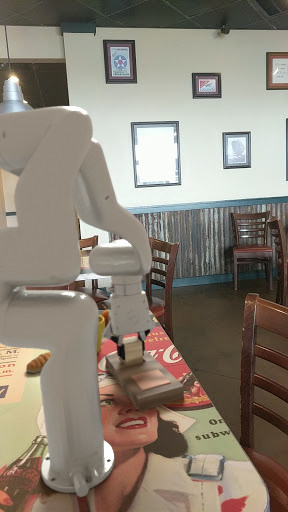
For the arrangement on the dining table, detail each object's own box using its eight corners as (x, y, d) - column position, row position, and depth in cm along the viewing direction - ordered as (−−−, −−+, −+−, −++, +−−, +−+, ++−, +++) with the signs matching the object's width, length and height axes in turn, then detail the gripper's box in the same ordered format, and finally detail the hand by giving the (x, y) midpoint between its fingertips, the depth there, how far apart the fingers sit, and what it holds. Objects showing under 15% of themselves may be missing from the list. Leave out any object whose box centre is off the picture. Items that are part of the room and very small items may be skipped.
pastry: (33, 378, 99) (31, 364, 99) (22, 370, 104) (20, 357, 104) (64, 365, 106) (63, 352, 105) (52, 358, 111) (51, 346, 110)
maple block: (143, 370, 98) (141, 341, 97) (127, 375, 96) (125, 345, 95) (137, 364, 102) (135, 336, 101) (121, 367, 101) (119, 339, 99)
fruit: (95, 330, 126) (98, 306, 129) (103, 333, 133) (106, 311, 136) (117, 331, 124) (120, 307, 126) (125, 335, 131) (128, 312, 134)
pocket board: (184, 398, 85) (183, 384, 85) (139, 411, 81) (138, 397, 81) (143, 357, 107) (142, 346, 107) (106, 366, 103) (105, 354, 103)
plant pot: (101, 359, 108) (98, 326, 106) (67, 358, 109) (63, 326, 108) (110, 344, 118) (108, 314, 116) (78, 343, 119) (76, 314, 118)
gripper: (98, 297, 89) (104, 369, 92) (163, 286, 95) (166, 354, 98) (90, 290, 96) (96, 357, 99) (151, 280, 102) (155, 344, 105)
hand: (131, 355), depth 99 cm, fingers closed on maple block, 4 cm apart
